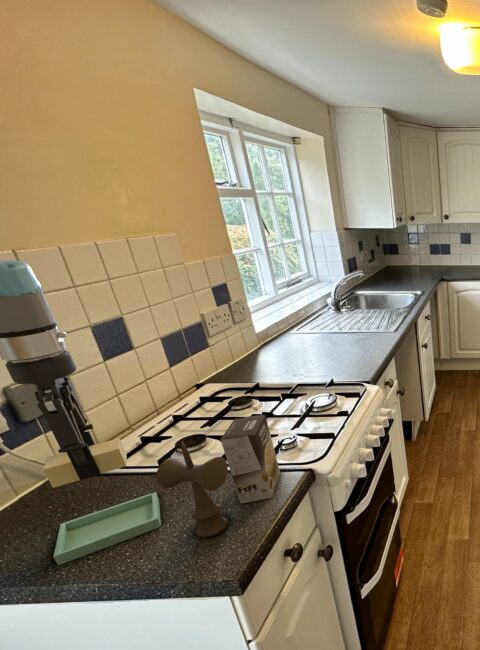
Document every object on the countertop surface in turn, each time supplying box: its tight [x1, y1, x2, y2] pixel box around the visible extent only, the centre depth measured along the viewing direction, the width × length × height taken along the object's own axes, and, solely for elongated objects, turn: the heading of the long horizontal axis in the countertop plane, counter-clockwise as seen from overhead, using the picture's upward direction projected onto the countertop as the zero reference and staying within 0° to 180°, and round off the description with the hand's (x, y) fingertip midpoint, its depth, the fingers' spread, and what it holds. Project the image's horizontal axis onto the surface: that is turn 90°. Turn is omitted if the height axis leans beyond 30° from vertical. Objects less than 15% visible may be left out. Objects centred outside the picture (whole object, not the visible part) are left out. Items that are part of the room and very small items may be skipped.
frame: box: [53, 491, 162, 566], centre depth 80 cm, size 14×10×2 cm
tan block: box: [42, 437, 128, 489], centre depth 77 cm, size 10×5×4 cm, turn 131°
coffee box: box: [219, 414, 281, 504], centre depth 89 cm, size 9×6×16 cm
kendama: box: [156, 442, 229, 538], centre depth 77 cm, size 6×10×20 cm, turn 88°
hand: (91, 469), depth 78 cm, fingers closed on tan block, 5 cm apart
